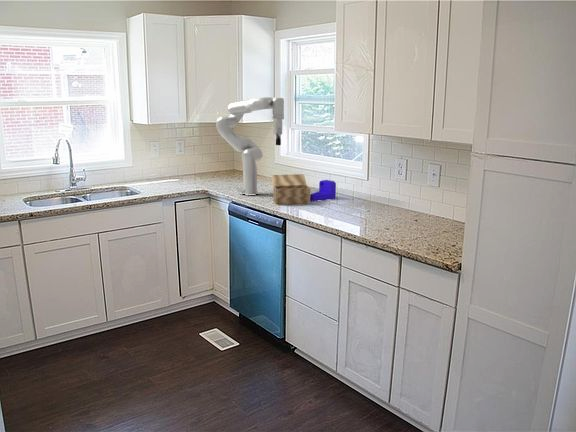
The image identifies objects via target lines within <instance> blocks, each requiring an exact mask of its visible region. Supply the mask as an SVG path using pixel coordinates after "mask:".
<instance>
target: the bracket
mask: <svg viewBox="0 0 576 432" xmlns="http://www.w3.org/2000/svg"><path fill="white" fill-rule="evenodd" d="M318 184H319V185H318V188H319V190H318V191H315V192H313V193H310V202H319V201H318V200H322V201H327V200H326V199H331V200H334V199H333V198H337V197H336V194H337V192H336V191H337V183H336V181H334V180H330V179H329V180H328V179H322V180H320V181H319V183H318Z"/></svg>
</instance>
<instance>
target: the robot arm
mask: <svg viewBox="0 0 576 432" xmlns="http://www.w3.org/2000/svg"><path fill="white" fill-rule="evenodd" d="M284 100H285V99H284V98H283V97H269V96H268V97H267V96H266V97H258V98H251V99H246V100H241V101H235V102H232V103H229V105H228V106H227V111H228V113H229V115H222V116H219V118H217V120H216V123H215V126H216V131H217V133H218V134H219V135H220V136H221V137H222V139H224V140H225V141H226V142H227V143H228V144H229V145H230V147H231V148H233V150H234V151H236V152H238V153H239V152H240V153H241V152H242V153H241V161H242V172H243V174H242V175H243V178H242V179H243V180H242V181H243V187H241V188H236V192H239V193H242V194H259V193H260V192H259V191H258V168H257V167H258V166H257V163H256V162H258V161H259V162H260V160H262V159H263V151H262V149H261V148H260V147H259V146H258V145H257V144H256V143H255V142H254V141H253V140H252V139H250V138H249V137H247V136H246V137H245V136H243V137H241V136H239V135H238V134H237V133H236V132H235V131H234V130H232V129H231V128H235V127H237V125H238V124H239V123H240V121H241V119H242V118H243V117H244V115H245V114H249V113H252V112H254V111H261V110H271V109H272V111H271V112H272V120H273V131H272V132H273V134H274V135H275V146H281V145H282V139H281V136H282V134H283V120H284V119H285V101H284ZM258 192H259V193H258ZM242 194H241V195H242ZM259 195H260V194H259Z"/></svg>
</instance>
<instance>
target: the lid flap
mask: <svg viewBox="0 0 576 432" xmlns="http://www.w3.org/2000/svg"><path fill="white" fill-rule="evenodd" d="M271 182H272V186H290V185H307V181H306V177H305V174H304V173H303V174H302V173H301V174H295V173H293V174H271ZM307 186H308V185H307Z"/></svg>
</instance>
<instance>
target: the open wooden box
mask: <svg viewBox="0 0 576 432" xmlns="http://www.w3.org/2000/svg"><path fill="white" fill-rule="evenodd" d="M272 186H273V185H272ZM272 192H273V203H274V202H275V203H274V204H275V205H276V204H287V205H310V204H311V201H310V194H311V187H309V185H290V186H273V191H272Z"/></svg>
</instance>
